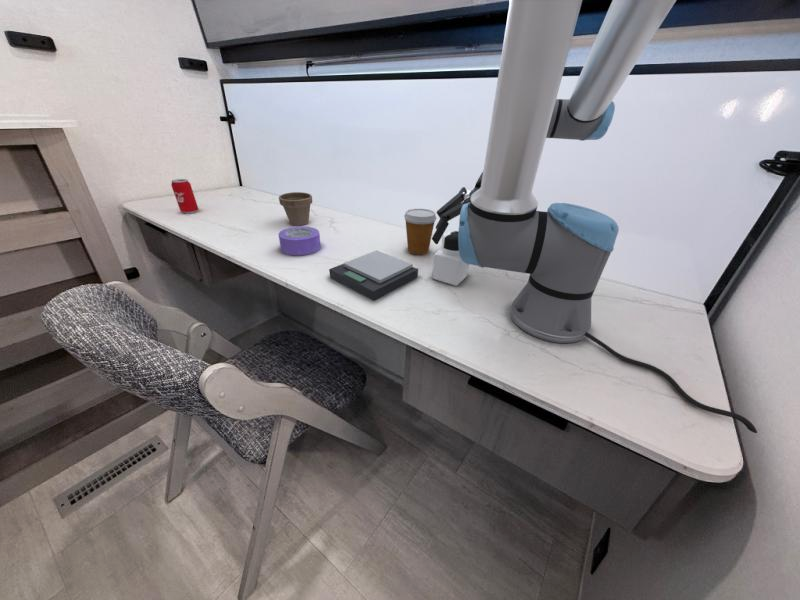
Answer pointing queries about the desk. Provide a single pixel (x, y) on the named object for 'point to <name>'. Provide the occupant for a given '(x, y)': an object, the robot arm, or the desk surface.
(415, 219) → the disposable coffee cup
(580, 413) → the desk surface
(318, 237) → the tape roll
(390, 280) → the scale
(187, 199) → the beverage can
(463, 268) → the medicine bottle
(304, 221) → the flower pot
